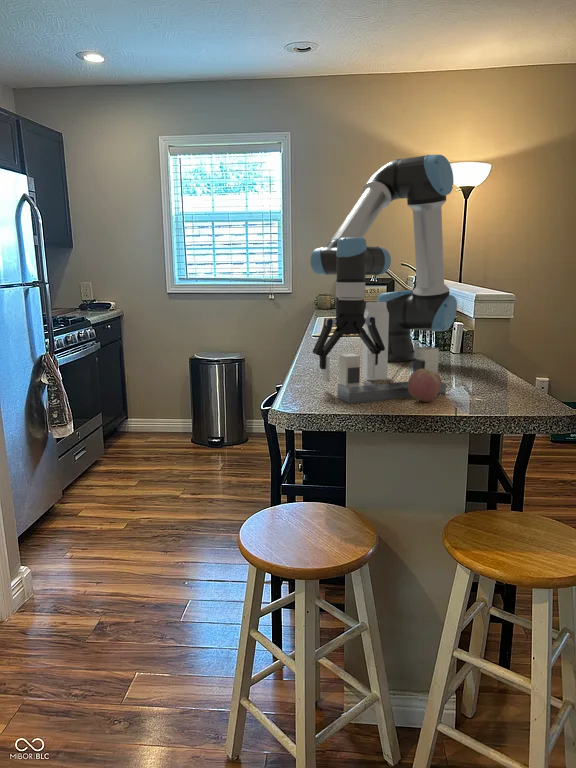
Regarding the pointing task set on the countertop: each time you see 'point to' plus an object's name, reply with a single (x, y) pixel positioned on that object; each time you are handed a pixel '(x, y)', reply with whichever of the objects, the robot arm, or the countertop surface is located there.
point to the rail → (372, 392)
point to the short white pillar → (349, 370)
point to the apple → (424, 384)
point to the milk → (382, 325)
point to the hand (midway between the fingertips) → (348, 379)
